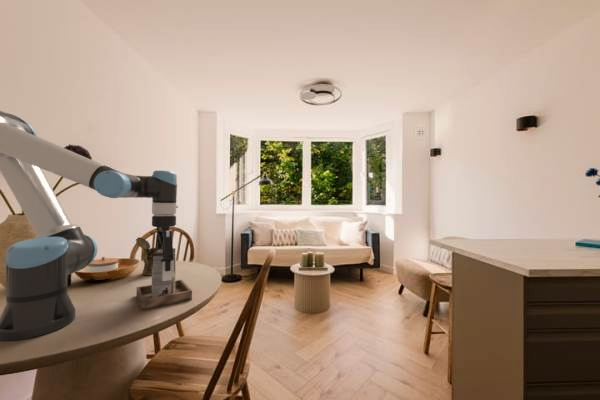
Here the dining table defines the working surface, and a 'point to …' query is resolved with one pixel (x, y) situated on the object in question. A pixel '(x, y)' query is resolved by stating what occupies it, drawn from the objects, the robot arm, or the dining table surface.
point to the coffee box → (157, 284)
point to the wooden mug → (146, 255)
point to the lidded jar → (103, 264)
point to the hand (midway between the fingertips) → (163, 275)
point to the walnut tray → (148, 302)
